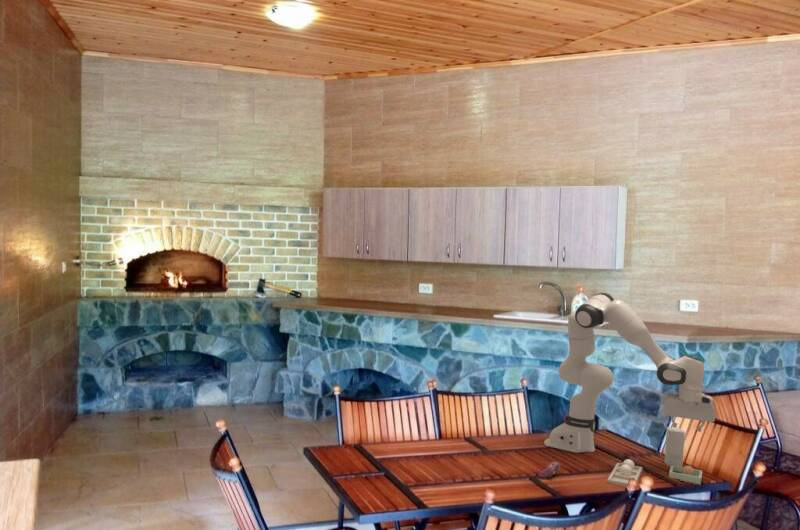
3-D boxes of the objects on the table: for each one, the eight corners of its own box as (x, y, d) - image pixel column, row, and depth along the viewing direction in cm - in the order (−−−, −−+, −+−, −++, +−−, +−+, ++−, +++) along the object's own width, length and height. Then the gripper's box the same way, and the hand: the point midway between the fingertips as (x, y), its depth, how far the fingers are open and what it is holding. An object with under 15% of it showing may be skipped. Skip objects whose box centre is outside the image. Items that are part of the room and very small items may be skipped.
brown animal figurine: (546, 483, 288) (556, 469, 286) (537, 475, 290) (546, 461, 288) (555, 477, 297) (564, 463, 295) (545, 470, 299) (554, 456, 297)
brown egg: (679, 474, 303) (685, 464, 303) (680, 471, 308) (686, 462, 307) (690, 480, 302) (696, 471, 301) (690, 478, 306) (696, 468, 305)
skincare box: (682, 469, 319) (685, 432, 319) (665, 466, 320) (669, 430, 320) (679, 463, 327) (682, 428, 327) (663, 461, 328) (666, 426, 328)
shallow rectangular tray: (606, 485, 287) (607, 479, 287) (616, 467, 313) (617, 462, 313) (634, 490, 283) (634, 484, 283) (642, 472, 309) (642, 467, 309)
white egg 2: (618, 476, 297) (619, 464, 296) (620, 473, 301) (621, 462, 301) (630, 478, 295) (631, 467, 295) (632, 475, 299) (633, 464, 299)
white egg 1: (621, 470, 305) (622, 459, 305) (623, 468, 309) (624, 457, 309) (633, 473, 303) (634, 461, 303) (634, 470, 307) (635, 459, 307)
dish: (668, 479, 302) (669, 472, 302) (670, 472, 313) (671, 464, 313) (700, 485, 297) (701, 477, 297) (701, 477, 308) (702, 470, 308)
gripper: (663, 393, 308) (659, 426, 309) (717, 400, 301) (713, 435, 301) (663, 390, 314) (660, 423, 314) (716, 398, 307) (713, 431, 307)
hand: (686, 429), depth 308 cm, fingers open, 8 cm apart
